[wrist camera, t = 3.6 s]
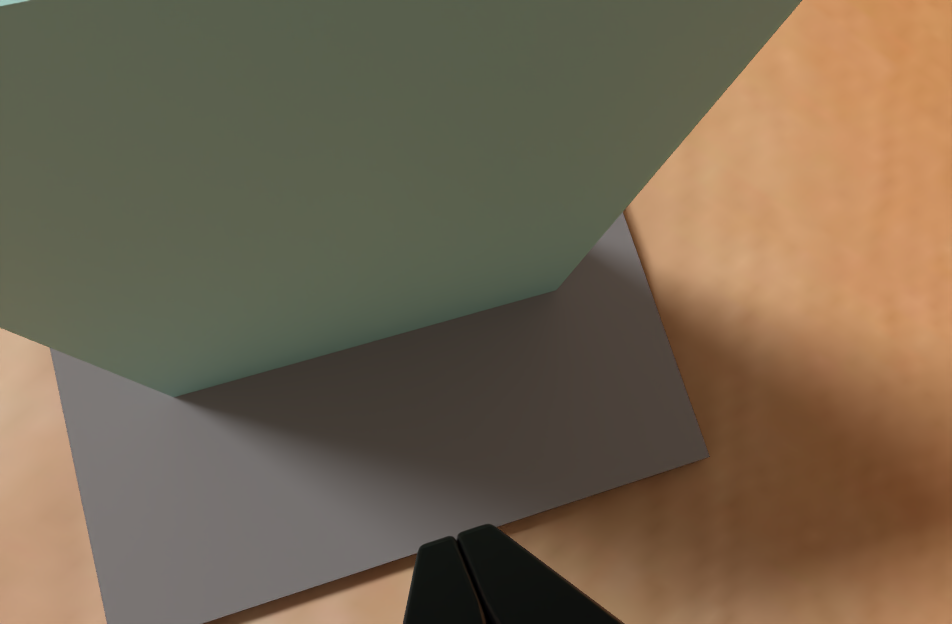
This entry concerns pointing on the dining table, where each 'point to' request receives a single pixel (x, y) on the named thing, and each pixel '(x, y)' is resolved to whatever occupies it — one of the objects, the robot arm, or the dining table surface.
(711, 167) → the dining table surface
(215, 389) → the mat
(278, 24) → the teal board
